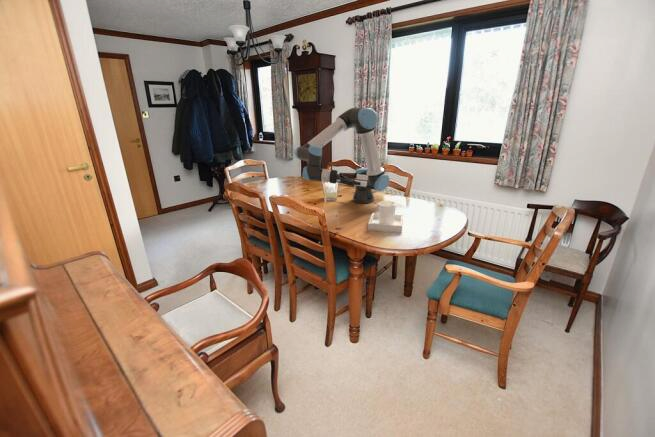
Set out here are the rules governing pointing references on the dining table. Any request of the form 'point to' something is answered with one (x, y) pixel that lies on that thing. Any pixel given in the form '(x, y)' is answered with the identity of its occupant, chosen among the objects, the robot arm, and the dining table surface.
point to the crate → (396, 226)
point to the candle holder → (386, 212)
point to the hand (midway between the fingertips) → (367, 181)
